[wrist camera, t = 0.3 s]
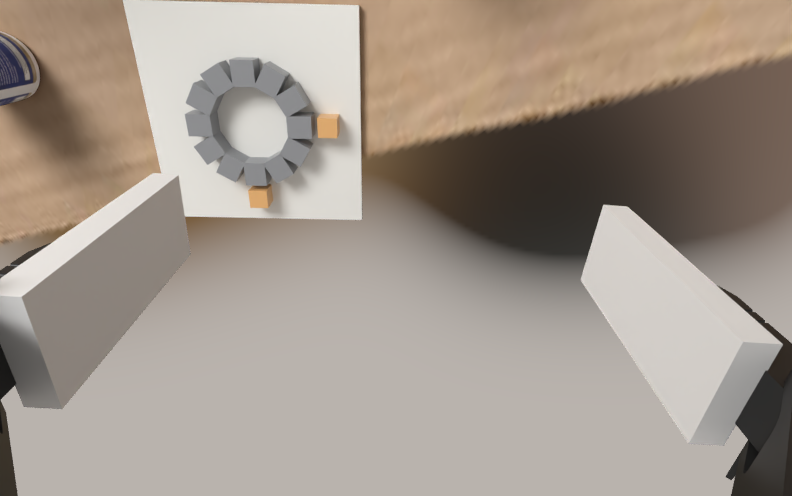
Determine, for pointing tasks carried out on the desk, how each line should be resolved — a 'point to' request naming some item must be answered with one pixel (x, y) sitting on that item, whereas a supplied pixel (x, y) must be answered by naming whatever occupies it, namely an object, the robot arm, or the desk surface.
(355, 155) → the socket
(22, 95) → the pill bottle
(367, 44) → the desk surface
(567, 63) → the desk surface
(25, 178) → the desk surface
